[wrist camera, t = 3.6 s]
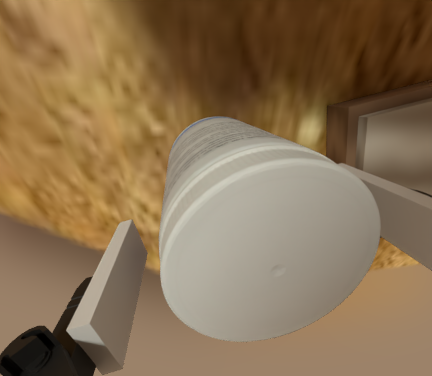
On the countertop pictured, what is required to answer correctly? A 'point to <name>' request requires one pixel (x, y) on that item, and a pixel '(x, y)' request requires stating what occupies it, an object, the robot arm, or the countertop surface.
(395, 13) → the countertop surface
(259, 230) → the supplement tub
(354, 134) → the plinth
